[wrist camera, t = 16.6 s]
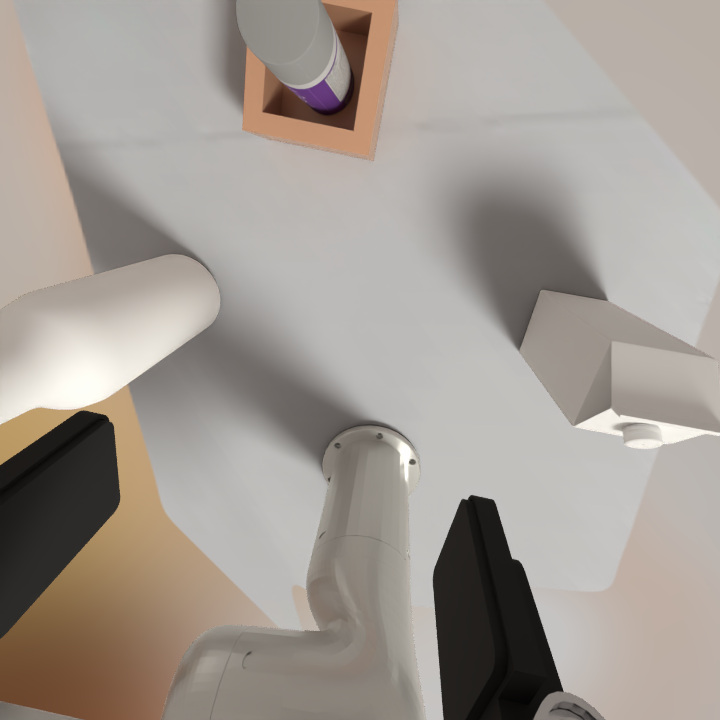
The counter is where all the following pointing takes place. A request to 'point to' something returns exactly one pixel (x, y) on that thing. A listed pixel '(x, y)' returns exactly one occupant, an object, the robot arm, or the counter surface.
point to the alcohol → (99, 332)
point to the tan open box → (371, 72)
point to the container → (299, 50)
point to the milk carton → (620, 372)
